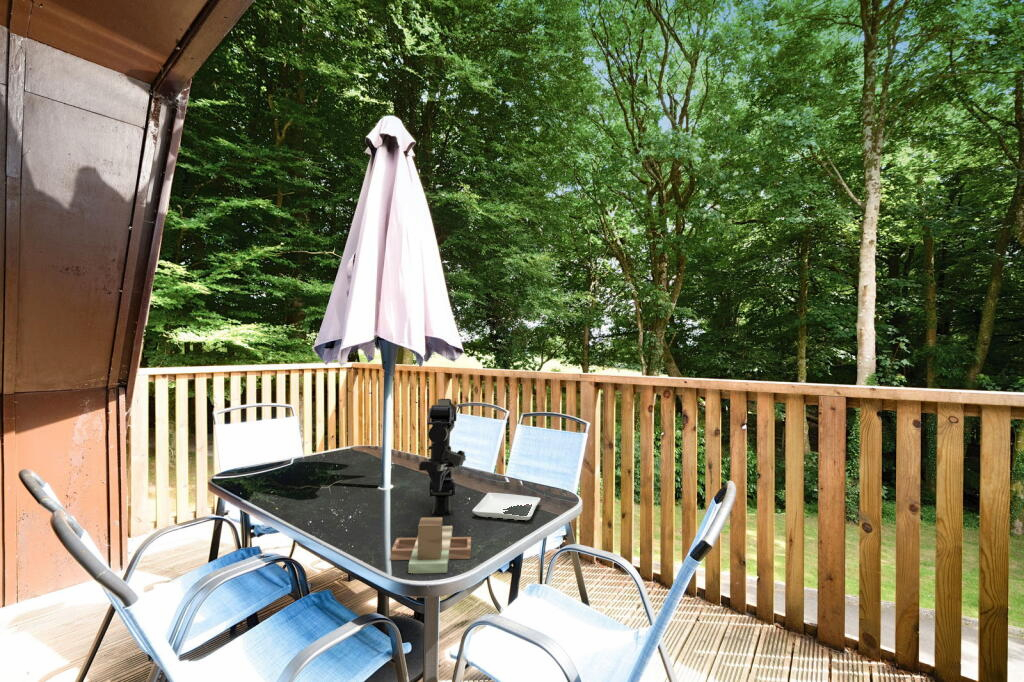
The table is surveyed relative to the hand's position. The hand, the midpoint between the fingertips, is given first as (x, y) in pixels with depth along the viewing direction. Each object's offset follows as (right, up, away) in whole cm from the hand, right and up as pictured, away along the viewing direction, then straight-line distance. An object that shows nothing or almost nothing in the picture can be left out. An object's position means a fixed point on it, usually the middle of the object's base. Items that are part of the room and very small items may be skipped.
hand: (438, 492), depth 150 cm
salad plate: (+23, -14, +18) cm, 32 cm away
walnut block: (+2, -9, -24) cm, 26 cm away
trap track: (+1, -12, -16) cm, 20 cm away
